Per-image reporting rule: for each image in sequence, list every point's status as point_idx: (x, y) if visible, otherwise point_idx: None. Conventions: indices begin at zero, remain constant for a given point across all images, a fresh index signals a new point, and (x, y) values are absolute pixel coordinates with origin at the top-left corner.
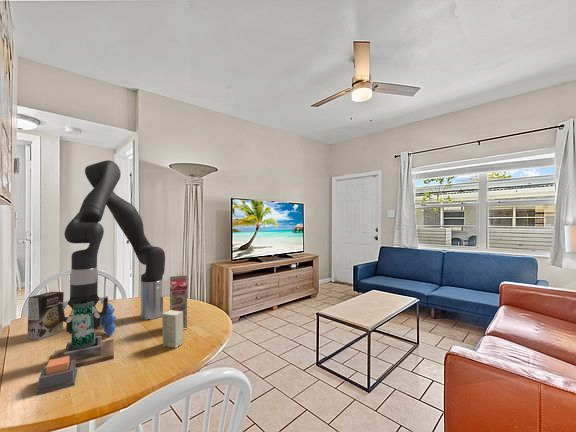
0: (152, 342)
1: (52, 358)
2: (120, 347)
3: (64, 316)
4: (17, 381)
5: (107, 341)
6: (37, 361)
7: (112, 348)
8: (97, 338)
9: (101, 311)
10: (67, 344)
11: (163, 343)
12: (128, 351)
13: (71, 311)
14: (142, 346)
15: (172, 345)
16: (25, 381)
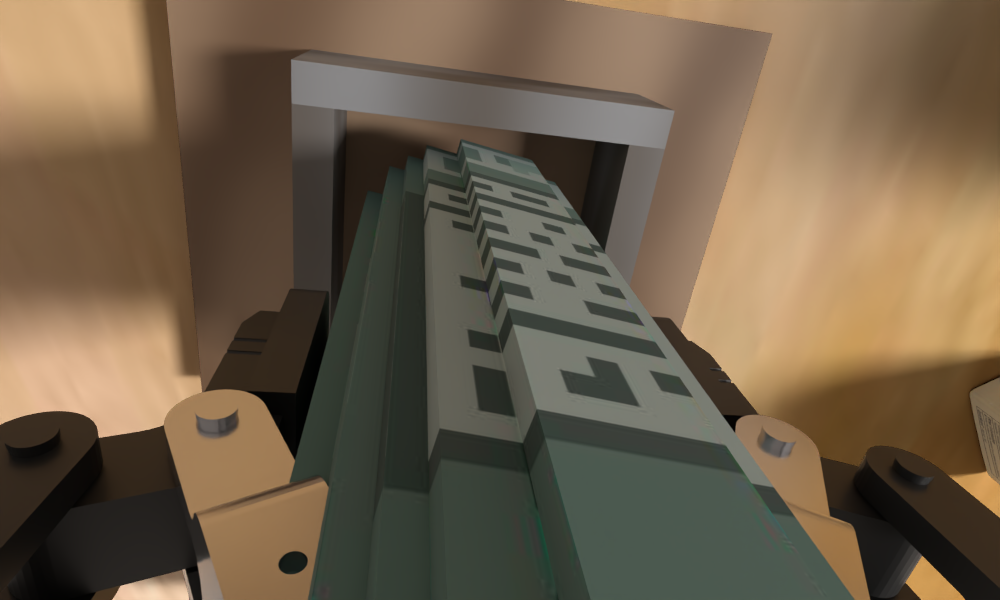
0: (970, 281)
1: (190, 173)
2: (753, 216)
3: (70, 501)
4: (22, 367)
5: (704, 65)
6: (36, 33)
7: (685, 287)
8: (619, 142)
9: (860, 522)
10: (298, 154)
11: (987, 412)
12: (765, 336)
13: (198, 518)
14: (878, 309)
15: (997, 470)
16: (87, 398)
